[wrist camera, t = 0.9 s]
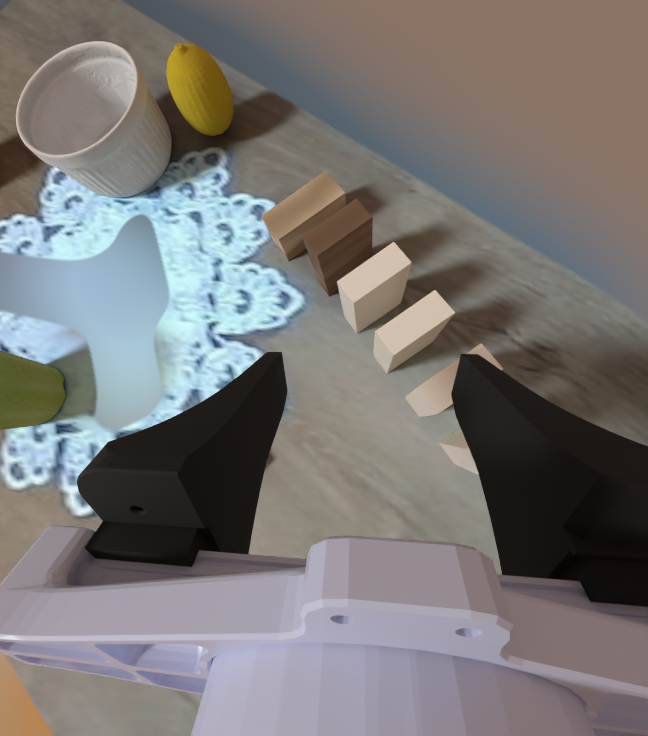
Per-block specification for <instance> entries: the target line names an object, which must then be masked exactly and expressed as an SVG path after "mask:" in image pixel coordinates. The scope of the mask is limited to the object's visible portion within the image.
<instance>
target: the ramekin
mask: <svg viewBox="0 0 648 736" xmlns="http://www.w3.org/2000/svg"><path fill="white" fill-rule="evenodd" d="M16 124H17V130H18V133H19V135H20V138H21V140H22V141H23V143H24V144H25V145H26V146H27V147H28V148H29V149H30V150H31V151H32V152H33V153H34V154H35V155H36V156H38V157H39V158H40V159H41V160H43V161H44V162H46V163H47V164H50V165H52V166H54V167H57V168H58V169H59V170H61V171H62V172H64V173H65V174H67V175H68V176H69V177H71V178H72V179H74V180H75V181H77V182H78V183H80V184H81V185H83V186H84V187H86V188H87V189H89V190H91V191H93V192H94V193H97V194H100V195H102V196H107V197H116V198H123V197H130V196H133V195H136V194H139V193H141V192H143V191H145V190H146V189H148V188H149V187H151V186H152V185H153V184H154V183H155V182H156V181H157V180H158V179H159V178H160V177H161V176H162V174H163V173H164V171H165V169H166V168H167V165H168V163H169V160H170V157H171V147H172V140H171V133H170V130H169V127H168V124H167V122H166V120H165V118H164V116H163V114H162V112H161V110H160V108H159V106H158V104H157V102H156V100H155V99H154V97H153V95H152V93H151V91H150V90H149V88H148V86H147V83H146V79H145V77H144V75H143V72H142V71H141V69H140V68H139V66H138V65H137V63H136V62H135V60H134V59H133V58H132V56H131V55H130V54H129V53H128V52H127V51H126V50H125V49H123V48H122V47H120V46H118V45H116V44H113V43H109V42H102V41H94V42H86V43H82V44H78V45H75V46H72V47H70V48H67V49H65V50H63V51H61V52H60V53H58V54H57V55H55V56H54V57H52V58H51V59H49V60H48V61H47V62H46V63H44V64H43V65H42V66H41V67H40V68H39V69H38V70H37V71H36V72H35V74H34V75H33V76H32V77H31V79H30V80H29V81H28V83H27V84H26V86H25V88H24V90H23V92H22V94H21V96H20V99H19V102H18V106H17V112H16Z"/></svg>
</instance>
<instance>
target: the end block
mask: <svg viewBox="0 0 648 736" xmlns="http://www.w3.org/2000/svg"><path fill="white" fill-rule="evenodd" d="M344 206H346V198H345V192H344V191H343V190H342V189H341V188H340V187H339V185H338V184H337V183H336V182H335V181H334V180H333V178H332V177H331V176H330V175H329V174H328V173H327V171H324V172H323V173H322V174H320V175H319V176H317V177H316V178H315V179H313V180H312V181H310V182H309V183H307V184H306V185H305V186H303V187H302V188H300V189H299V190H297V191H296V192H295V193H293V194H292V195H290V196H289V197H288V198H286V199H285V200H283V201H282V202H280V203H279V204H278V205H276V206H275V207H273V208H272V209H271V210H269V211H268V212H266V213H265V214H263V215H262V216H261V217H262V218H263V220H264V222H265V224H266V226H267V228H268V230H269V232H270V234H271V236H272V238H273V240H274V241H275V243H276V244H277V245H278V247H279V248H280V249H281V251H282V252H283V253H284V255H285V256H286V258H287V259H288V260H289V261H290V260H291V259H293V258H294V257H295V256H297V255H298V254H300V253H301V252H303V251H304V250H305V249H307V248H306V246H305V243H304V240H303V237H302V236H303V235H304V234H306V233H307V232H309V231H310V230H312V229H313V228H314V227H316V226H317V225H319V224H320V223H322V222H323V221H324V220H326V219H327V218H329V217H330V216H332V215H333V214H334V213H336V212H337V211H339V210H340V209H342V208H343V207H344Z"/></svg>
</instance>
